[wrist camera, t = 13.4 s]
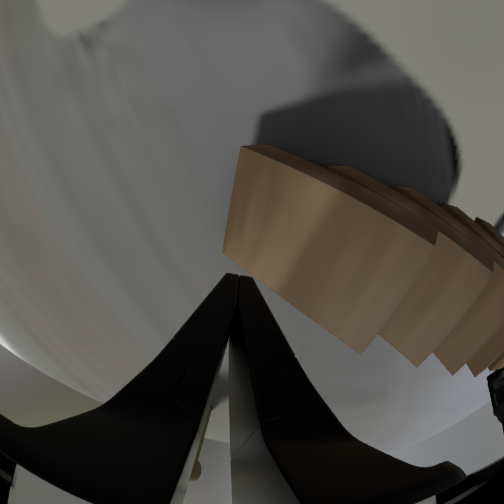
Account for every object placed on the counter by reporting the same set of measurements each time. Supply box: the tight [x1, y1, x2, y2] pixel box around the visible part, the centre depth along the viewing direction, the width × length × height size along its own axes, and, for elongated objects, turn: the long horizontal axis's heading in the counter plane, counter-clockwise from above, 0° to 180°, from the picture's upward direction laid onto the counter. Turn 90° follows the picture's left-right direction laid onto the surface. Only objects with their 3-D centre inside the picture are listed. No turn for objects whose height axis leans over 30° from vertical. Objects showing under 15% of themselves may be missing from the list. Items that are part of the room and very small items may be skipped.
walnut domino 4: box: [441, 203, 504, 377], centre depth 12 cm, size 2×6×9 cm, turn 169°
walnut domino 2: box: [327, 165, 494, 367], centre depth 12 cm, size 2×6×9 cm
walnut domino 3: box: [395, 186, 504, 376], centre depth 12 cm, size 2×6×9 cm, turn 169°
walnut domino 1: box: [222, 144, 439, 355], centre depth 12 cm, size 2×6×9 cm
